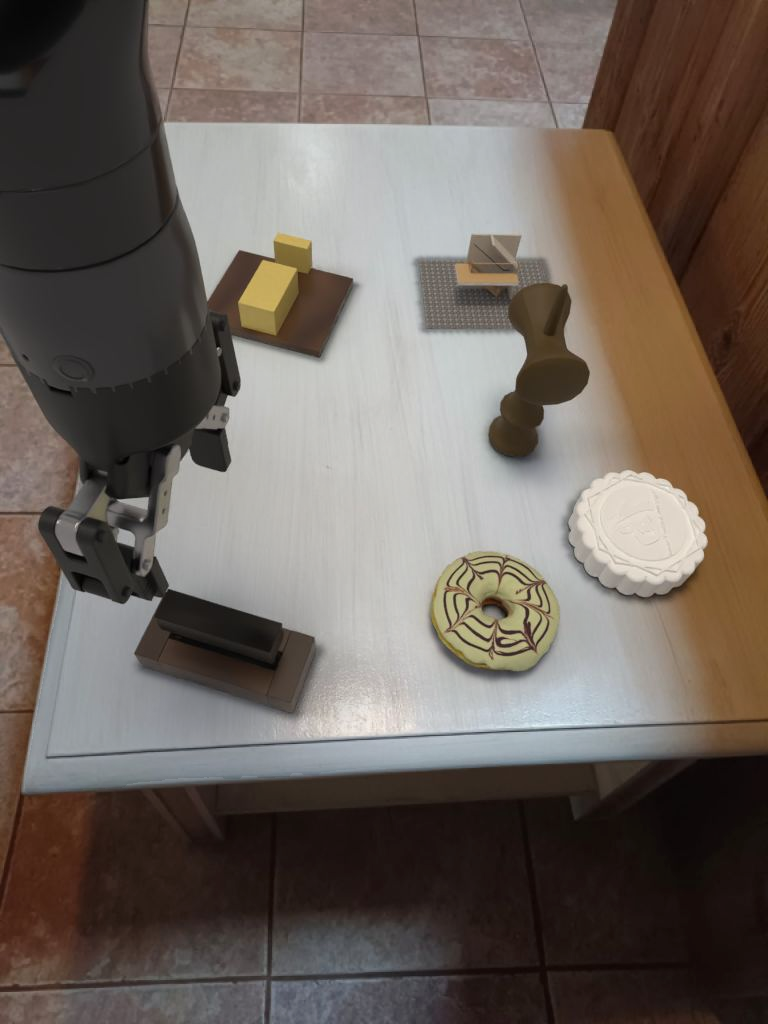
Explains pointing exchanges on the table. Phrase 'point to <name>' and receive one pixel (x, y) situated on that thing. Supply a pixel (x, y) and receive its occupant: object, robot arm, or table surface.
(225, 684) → the stand
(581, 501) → the mooncake
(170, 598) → the bench knife
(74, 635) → the table surface
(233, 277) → the butter board
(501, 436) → the kendama
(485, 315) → the architectural model
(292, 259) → the butter slice
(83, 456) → the robot arm
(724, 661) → the table surface
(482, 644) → the decorated donut
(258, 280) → the butter block
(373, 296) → the table surface
